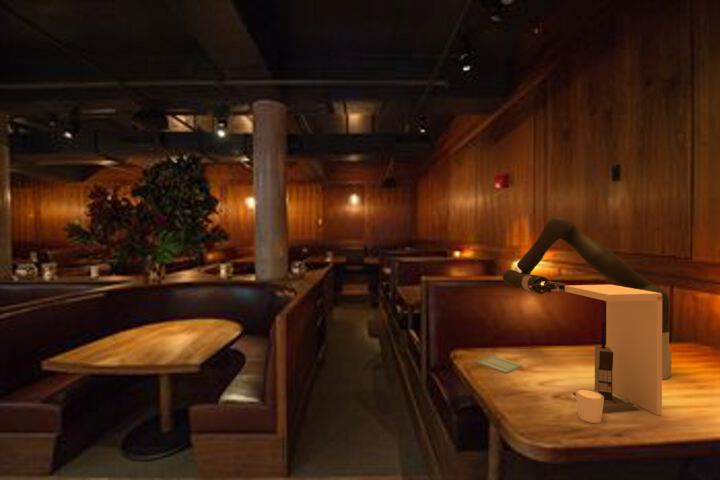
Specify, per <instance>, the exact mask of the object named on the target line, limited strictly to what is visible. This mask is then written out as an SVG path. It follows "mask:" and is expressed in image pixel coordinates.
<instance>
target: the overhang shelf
mask: <svg viewBox="0 0 720 480" xmlns="http://www.w3.org/2000/svg"><path fill="white" fill-rule="evenodd" d="M564 292H565V293H570V294H574V295H580V296H583V297H588V298H592V299H594V300H595V299H596V300H601V301H605V303H606V305H605V307H606V311H605V312H606V316H605V319H606V322H605V323H606V325H605V328H606V331H605V332H606V335H605V347H609V348H610V349H611V350H612V351H613V369H612V393H615V394H617V395H619V396H620V397H622V396H623V397H622V398H624V399H625V400H627V401H624V400H622V398H619V397H618V396H616V395H614V394H612V395H613V403H607V404H603V411H602V414H605V413H621V412H623V413H624V412H637V411H640V409H639V408H638V407H636V406H635V405H637V406H639V407H642V409H645V410H647V411H648V412H650V413H652V414H654V415H655V416H662V415H663V379H662V293H657V292H651V291H645V290H639V289H633V288H628V287H623V286H621V285H615V284H582V285H579V284H578V285H577V284H576V285H570V284H569V286H565V291H564ZM572 394H573V395H574V396H576V392H573V393H572ZM629 401H630V402H629Z"/></svg>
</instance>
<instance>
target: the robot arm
mask: <svg viewBox="0 0 720 480" xmlns="http://www.w3.org/2000/svg"><path fill="white" fill-rule="evenodd" d="M560 239H561V240H563V241H564V242H566V243H567V244H568V245H570V246H571V247H572V248H573V249H575V251H576V252H577V254H579V256H580V257H581V259H583V260H584V261H585V262H586V263H587V264H588V265H589V266H590V267H591V268H592V269H594V270H595V271H596V272H598V273H599V274H600V275H602V276H604V277H605V278H608V279H609V280H610V281H613V282H614V283H616V284H618V285H619V286H622V287H628V288H633V289H639V290H645V291H651V292H657V293H662V380H668V379H669V378H672V351H671V350H670V296H669V294H668V293H667V291H666V290H664V289H663V288H661V287H660V286H658V285H656V284H655V283H653V282H651V281H650V280H648V279H646V278H645V277H644V276H642V275H641V274H639V273H637V272H636V270H635V269H633V268H632V267H631V266H629V265H628V264H627V263H626V262H625V261H624V260H622V259H621V258H620V257H619V256H618V255H616V254H615V253H614V252H612V250H610V249H608V248H607V247H605V246H604V245H602V244H601V243H600V242H598V241H597V240H595V239H593V238H592V237H590V236H588V235H587V234H586V233H584V232H583V231H582V230H581V229H580V228H579V227H578V226H577V225H575V224H574V222H573V221H572V220H570V219H568V218H566V217H562V216H558V217H556V216H555V217H552V218H551V219H549V220H548V221H547V223H546V224H545V226H544V228H543V230H542V232H541V233H540V234H539V236H538V238H537V239H536V240H535V242H534V243H533V244H532V246H530V248H529V249H528V250H527V251H526V253H525V254H524V255H523V256H522V257H521V258H520V259H519V261H518V262H517V265H516V267H517V268H518V270H520V271H517V270H514V269H507V270H505V271H504V272H503V274H502V280H503V282H504V283H505V284H507V285H510V286H512V287H513V288H515V289H523V290H527V291H529V292H530V293H535V294H539V295H543V294H545V293H552V292H553V291H554V292H560V291H563V292H565V286H570V283H569V284H568V283H563V282H559V281H558V282H554V281H549V280H548V278H547V277H545V276H543V275H537V274H532V271H534V269H536V268H537V266H538V265H539V263H541V262H542V259H543V258H544V257H545V255H546V253H547V252H548V250H549V249H550V247H552V246H553V245H554V244H555V243H556V242H557V241H558V240H560Z"/></svg>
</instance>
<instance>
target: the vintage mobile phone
mask: <svg viewBox="0 0 720 480" xmlns="http://www.w3.org/2000/svg"><path fill="white" fill-rule="evenodd" d="M605 323H606V322H604V321H603V322H602V323H601V345H595V346H594V391H595V392H598V393H600V394H601V395H603V396H604V403H603V404H607V403H613V395H614V394H613V391H612V369H613V351H612V350H611V349H610V348H609V347H606V335H605V328H606V325H605Z"/></svg>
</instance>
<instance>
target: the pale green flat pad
mask: <svg viewBox="0 0 720 480" xmlns="http://www.w3.org/2000/svg"><path fill="white" fill-rule="evenodd" d="M475 363H476V364H478V365H481V366H484V367H487V368H489V369H492V370H494V371H497V372H500V373H503V374H509V373H511V372H514V371H516V370H519V369H521V368H523V364H521V363H518V362H515V361H512V360H509V359H506V358H504V357H500V356H497V355H490V356H488V357H485V358H481V359H479V360H476V362H475Z"/></svg>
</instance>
